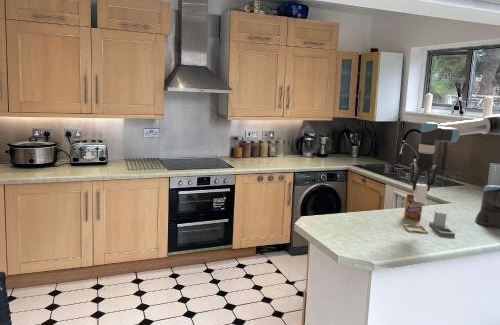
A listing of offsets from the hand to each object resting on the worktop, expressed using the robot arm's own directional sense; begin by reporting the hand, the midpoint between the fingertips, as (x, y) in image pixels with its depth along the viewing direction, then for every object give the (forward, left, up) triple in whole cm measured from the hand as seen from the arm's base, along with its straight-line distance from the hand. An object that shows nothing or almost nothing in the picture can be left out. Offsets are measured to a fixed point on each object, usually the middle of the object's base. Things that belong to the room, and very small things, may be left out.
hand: (419, 196), depth 218 cm
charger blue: (-14, -7, -18) cm, 24 cm away
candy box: (-4, -21, -19) cm, 29 cm away
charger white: (0, 0, -3) cm, 3 cm away
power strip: (-14, -6, -19) cm, 24 cm away
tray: (0, 0, -19) cm, 19 cm away
